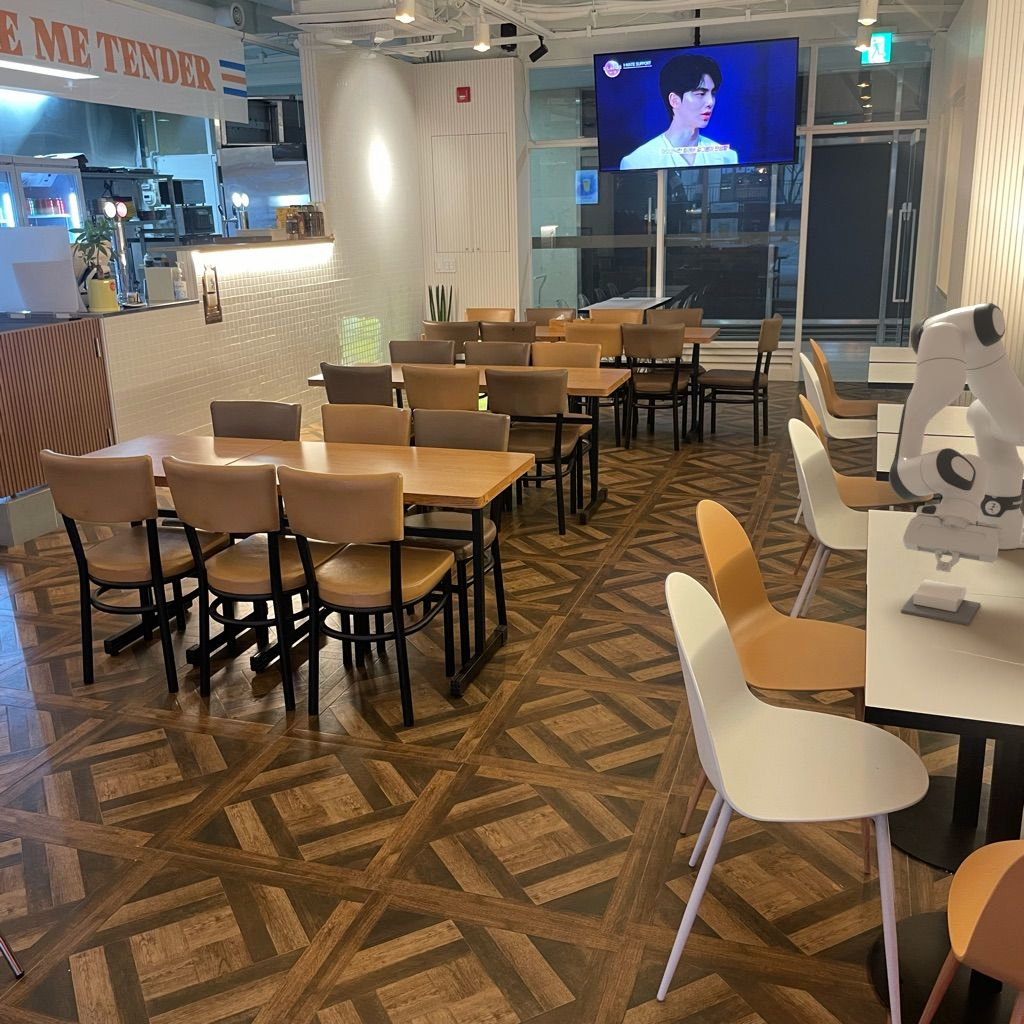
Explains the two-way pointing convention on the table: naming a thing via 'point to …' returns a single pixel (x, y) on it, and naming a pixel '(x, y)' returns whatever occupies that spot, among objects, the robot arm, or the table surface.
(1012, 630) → the table surface
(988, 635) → the table surface
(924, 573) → the table surface
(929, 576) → the table surface
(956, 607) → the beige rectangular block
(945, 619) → the charcoal mat
